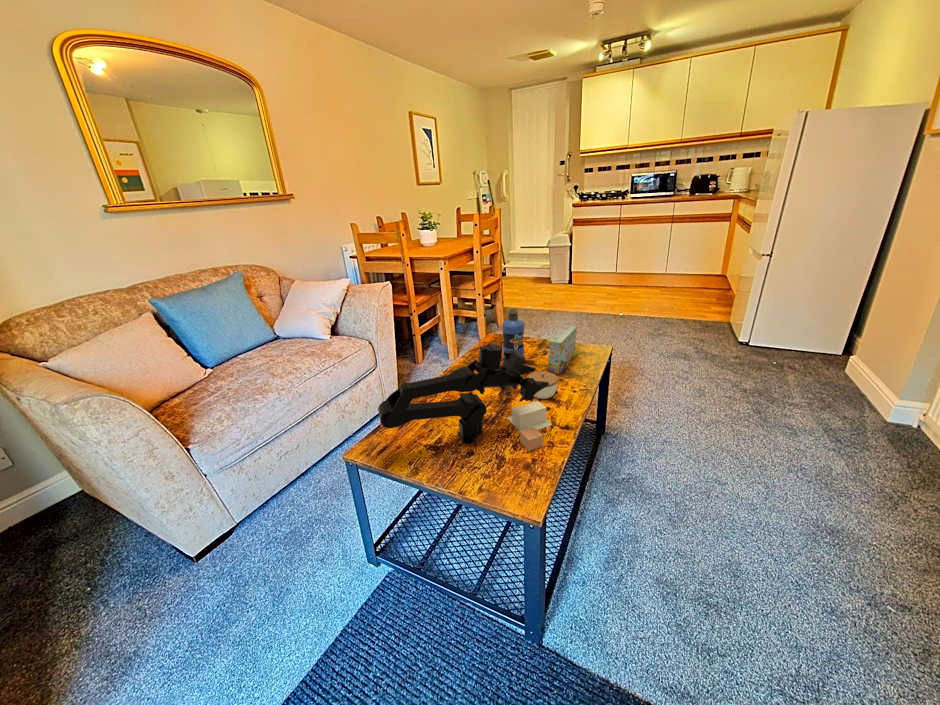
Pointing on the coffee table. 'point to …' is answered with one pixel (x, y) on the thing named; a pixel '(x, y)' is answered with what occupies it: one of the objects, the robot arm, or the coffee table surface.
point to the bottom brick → (528, 414)
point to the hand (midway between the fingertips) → (541, 376)
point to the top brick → (531, 438)
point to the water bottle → (513, 333)
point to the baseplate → (537, 426)
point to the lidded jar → (545, 377)
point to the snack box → (562, 349)
